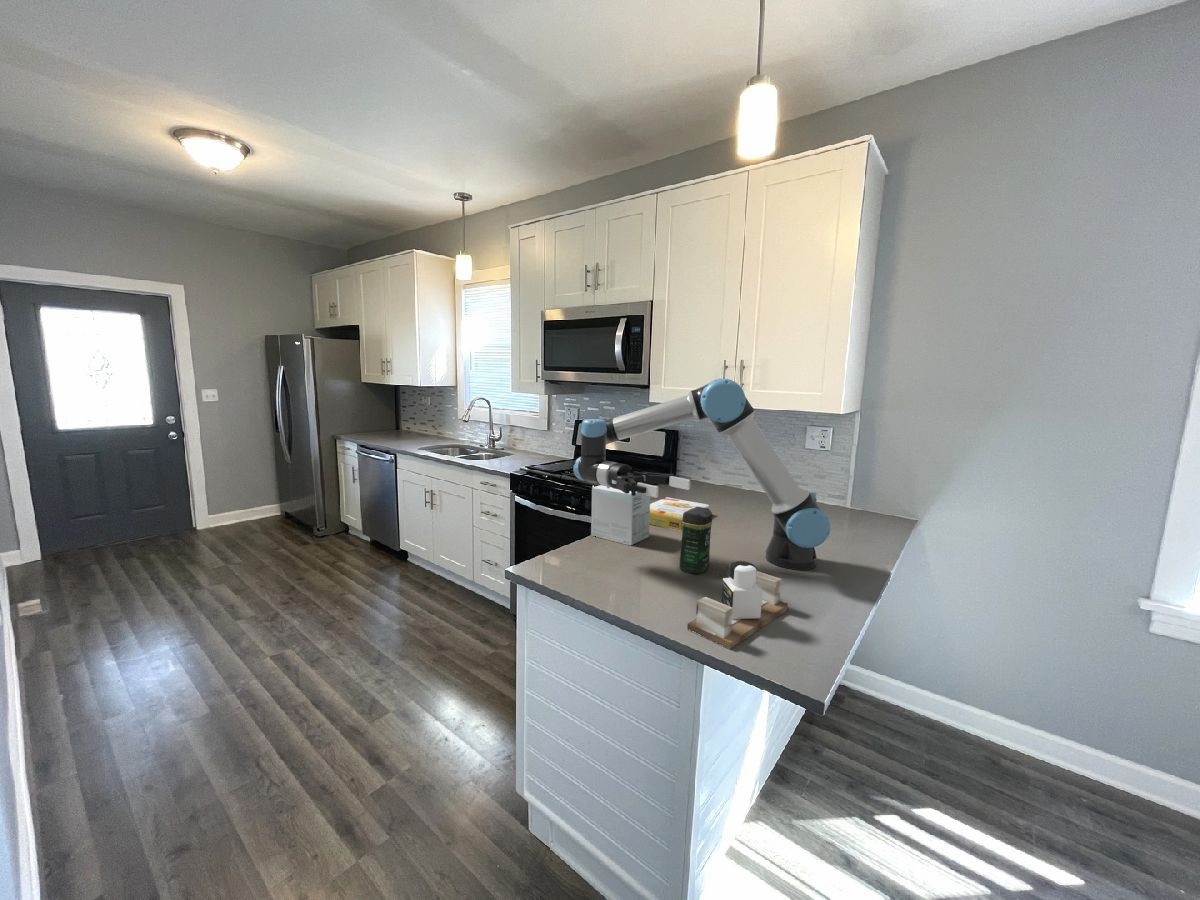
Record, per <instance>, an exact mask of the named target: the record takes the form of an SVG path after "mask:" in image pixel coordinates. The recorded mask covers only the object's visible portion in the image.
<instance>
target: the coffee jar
mask: <svg viewBox="0 0 1200 900" xmlns="http://www.w3.org/2000/svg"><path fill="white" fill-rule="evenodd" d="M712 525H713V512H712V511H711V510H710V509H708V508H702V507H695V508H692V509H690V510H688V511H686V512H684V513H683V519H682V531H681V533H682V534H681V544H680V545H681V546H680V556H679V569H680V570H682V571H684V572H686V573H687V574H702V573H704V572H706V571H707V570H708V568H709V567H710V556H711V555H710V551H711V550H710V548H711V534H712V533H711V532H712Z"/></svg>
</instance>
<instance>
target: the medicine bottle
mask: <svg viewBox="0 0 1200 900" xmlns="http://www.w3.org/2000/svg"><path fill="white" fill-rule="evenodd" d="M729 566H730V575H729V578H726V577H723V578H722V588H721V599H720V600H721V602H720V603H722V604H725V605H727V606H730V607H732V608H733V611H732V619H759V618H760V617H761V604H762V589H761V588H760V587H759V586H758V585H757V584H756V573H757V571H758V569H757V566H756V565H755V564H753V563H751V562H749V561H743V560H738V561H733V562H731V563H730V564H729Z"/></svg>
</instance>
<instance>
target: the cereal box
mask: <svg viewBox="0 0 1200 900" xmlns="http://www.w3.org/2000/svg"><path fill="white" fill-rule="evenodd" d="M695 507H702V508H708V509H709V508H710V505H709V504H707V503H706V504H705V503H701V502H696V501H689V500H684V499H679V498H673V497H667V496H666V497H665V498H662V499H659V500H656V501H654V502H652V503H650V520H649V525H652V526H655V525H656V526H655V527H659V526H661V527H660V528H664V527H666V528H665V529H668V528H672V529H671V530H673V529H677V530H676V531H678V530H682V519H683V513H684V512H686V511H688V510H690V509H692V508H695ZM709 510H710V509H709Z"/></svg>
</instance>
